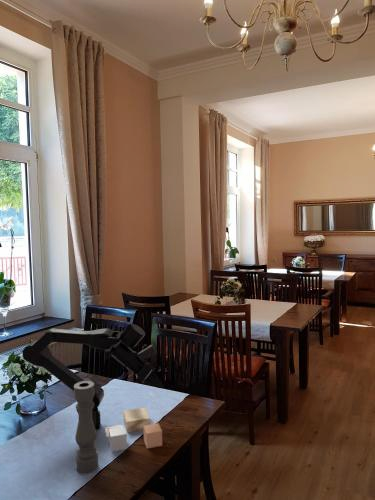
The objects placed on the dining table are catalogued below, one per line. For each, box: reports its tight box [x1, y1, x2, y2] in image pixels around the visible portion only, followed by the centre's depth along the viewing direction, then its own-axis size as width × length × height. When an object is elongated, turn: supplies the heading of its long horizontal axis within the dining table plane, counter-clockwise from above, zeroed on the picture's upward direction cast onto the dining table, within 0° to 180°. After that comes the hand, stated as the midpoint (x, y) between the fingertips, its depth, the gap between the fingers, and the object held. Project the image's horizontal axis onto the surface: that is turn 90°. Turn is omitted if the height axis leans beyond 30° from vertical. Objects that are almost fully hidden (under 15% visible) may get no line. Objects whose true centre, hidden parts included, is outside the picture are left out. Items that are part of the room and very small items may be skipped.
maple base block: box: [123, 407, 151, 433], centre depth 139 cm, size 8×8×4 cm
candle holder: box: [73, 380, 99, 475], centre depth 115 cm, size 6×6×25 cm
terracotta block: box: [143, 422, 163, 449], centre depth 128 cm, size 5×5×5 cm
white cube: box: [108, 425, 128, 453], centre depth 126 cm, size 5×5×5 cm
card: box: [104, 424, 123, 438], centre depth 135 cm, size 6×6×1 cm
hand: (161, 385), depth 136 cm, fingers open, 9 cm apart
